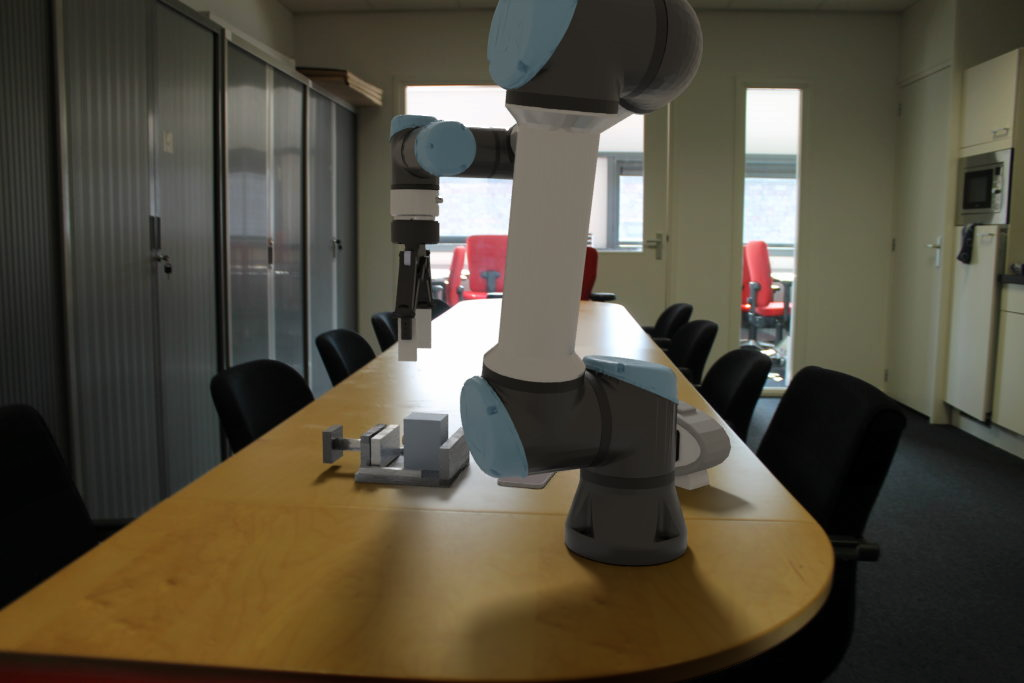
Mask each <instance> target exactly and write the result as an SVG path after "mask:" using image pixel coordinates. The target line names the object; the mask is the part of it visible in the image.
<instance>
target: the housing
mask: <svg viewBox="0 0 1024 683" xmlns="http://www.w3.org/2000/svg"><path fill="white" fill-rule="evenodd" d="M402 426H403V434H402V437H401V444H402V445H403V447H404V468H409V469H423V470H438V471H439V448H440V447H441V446H442V445H443V444H444V443H445V442H446V441H447V440H448V439H449V413H438V412H434V413H433V412H414V411H413V412H411V413H409V414H408V415H407V416H405V417H404V418H403V425H402Z"/></svg>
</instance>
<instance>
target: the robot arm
mask: <svg viewBox="0 0 1024 683" xmlns="http://www.w3.org/2000/svg"><path fill="white" fill-rule="evenodd" d="M703 45H704V40H703V31H702V27H701V23H700V21H699V18H698V16H697V14H696V11H695V10H694V8H693V6H691V4H690V2H688V0H498V3H497V5H496V8H495V11H494V13H493V16H492V19H491V25H490V29H489V32H488V41H487V49H486V50H487V52H486V54H487V57H486V58H487V61H488V63H489V66H488V72H489V75H490V77H491V79H492V81H493V82H494V83H495V84H496V85H497V86H499V87H500V88H501V89H503V90H505V102H504V107H505V108H506V110H507V111H508V112H509V114H510V115H511V116H512V117H513V119H514V120H515V124H513V125H512V126H492V125H490V126H489V125H476V124H475V125H474V124H464V123H462V122H460V121H457V120H453V119H446V120H444V119H439V120H438V119H437V117H435V116H432V115H430V114H429V115H427V114H417V113H416V114H415V113H413V114H412V113H411V114H409V113H408V114H406V113H405V114H398V115H396V116H393V118H392V119H391V121H390V130H389V131H390V134H389V139H388V142H389V153H390V154H389V155H390V157H389V158H390V160H389V161H390V162H389V163H390V166H389V167H390V190H389V191H390V193H389V196H390V198H389V199H390V202H389V203H390V206H389V208H390V214H389V215H391V216H392V217H393V220H391V222H390V242H391V244H393V245H404V250H399V253H398V258H399V260H398V276H397V287H396V296H395V297H396V298H395V299H396V300H395V307H394V311H392V315H391V316H392V319H397V330H398V331H397V346H398V347H397V348H398V349H397V351H398V352H397V354H398V358H397V361H398V362H417V361H418V349H432V309H436V308H437V302H436V301H434V294H433V281H432V269H431V250H430V249H429V248H427V247H426V245H427V246H428V245H429V246H430V245H438V244H439V243H440V227H441V226H440V225H441V223H440V222H439V220H436V217H439V216H440V205H439V204H443V203H444V197H442V196H440V191H441V190H440V181H441V180H440V178H461V179H465V178H466V179H493V180H512V186H511V195H510V196H511V199H510V209H509V211H510V212H509V219H508V229H507V230H508V231H507V239H506V240H507V241H506V250H505V251H506V254H505V262H504V263H505V264H504V274H503V275H504V276H503V283H502V284H503V285H502V286H503V287H502V296H501V305H500V306H501V307H500V318H499V319H500V320H499V327H498V328H499V329H498V340H497V341H498V342H497V343H496V344H494V346H492V347H491V348H490V349H488V350H487V351H486V352H485V353H484V354H483V357H482V358H483V359H482V367H481V369H482V370H481V375H474V376H472V377H470V378H467V379H466V380H465V381H464V383H463V386H462V387H461V389H460V390H461V391H460V395H459V413H460V421H461V427H463V432H464V435H465V439H466V442H467V445H468V448H469V450H470V455H471V457H472V458H473V461H474V463H475V464H476V465H477V466H478V467H479V469H480V470H481V472H483V473H484V474H486V475H487V476H489V477H491V478H495V479H498V478H509V477H519V478H526V477H527V476H530V475H538V474H545V473H553V472H555V473H559V472H567V471H574V470H579V482H578V484H577V487H576V489H575V493H574V495H573V499H572V501H571V505H570V507H569V510H568V513H567V515H566V518H565V522H564V543H565V545H566V546H567V548H568V549H570V550H571V552H574V553H575V554H577V555H579V556H582V557H583V558H586V559H590V560H593V561H595V562H600V563H606V564H613V565H623V566H649V565H657V564H662V563H663V564H664V563H666V562H670V561H673V560H675V559H678V558H680V557H681V556H682V555H684V554H685V552H686V551H687V549H688V527H687V523H686V520H685V517H684V513H683V510H682V507H681V506H682V505H681V502H680V499H679V496H678V491H677V489H676V486H675V458H676V428H677V408H678V405H679V400H680V399H679V392H678V391H679V390H678V378H677V374H676V373H675V371H674V370H673V369H672V368H671V367H669V366H667V365H664V364H660V363H656V362H651V361H648V360H647V361H646V360H641V359H640V360H639V359H633V358H628V357H627V358H626V357H620V356H611V355H600V354H599V355H597V354H596V355H595V354H591V355H585V356H583V358H582V359H581V357H580V356H579V355H578V354H577V352H576V351H575V348H576V339H577V331H578V325H579V324H578V323H579V315H580V306H581V297H582V291H583V290H582V288H583V281H584V274H585V272H584V271H585V265H586V263H585V262H586V255H587V250H588V249H587V248H588V247H587V246H588V241H589V239H588V238H589V232H590V224H591V213H592V207H593V205H592V204H593V197H594V189H595V181H596V174H597V167H598V166H597V163H598V158H599V147H600V141H601V140H600V139H601V134H603V133H604V132H605V131H607V130H609V129H610V128H612V127H614V126H615V125H617V124H619V123H621V122H622V121H624V120H626V119H627V118H628V117H631V116H632V115H640V116H641V115H642V116H644V115H648V114H649V115H650V114H652V113H654V112H656V111H658V110H660V109H661V108H663V107H664V106H666V105H669V104H670V103H671V102H673V101H674V100H675V99H676V98H677V97H679V96H680V95H681V94H682V93H684V91H685V90H686V89H687V88H689V85H690V84H691V83H692V82H693V80H694V78H695V76H696V75H697V73H698V70H699V67H700V64H701V61H702V57H703V51H704V46H703ZM678 399H679V400H678Z"/></svg>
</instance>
